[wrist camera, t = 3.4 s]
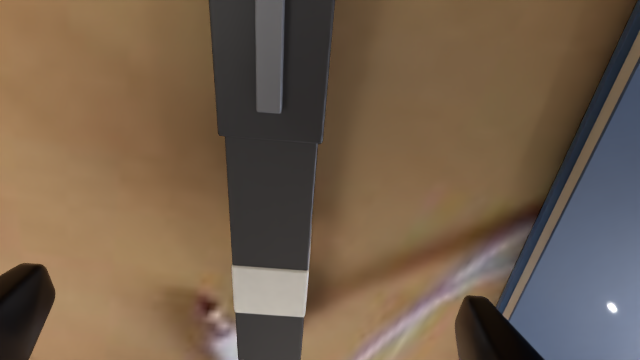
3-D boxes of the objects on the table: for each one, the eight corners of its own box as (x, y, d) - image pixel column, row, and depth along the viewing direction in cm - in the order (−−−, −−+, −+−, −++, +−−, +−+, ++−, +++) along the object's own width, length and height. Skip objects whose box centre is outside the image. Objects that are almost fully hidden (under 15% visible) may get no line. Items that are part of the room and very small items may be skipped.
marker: (305, 330, 17) (300, 395, 14) (246, 326, 17) (233, 391, 14) (341, -96, 9) (343, -93, 7) (229, -106, 9) (195, -106, 7)
